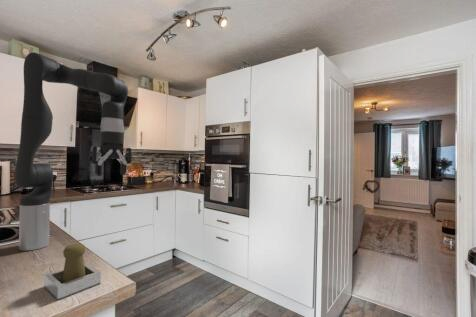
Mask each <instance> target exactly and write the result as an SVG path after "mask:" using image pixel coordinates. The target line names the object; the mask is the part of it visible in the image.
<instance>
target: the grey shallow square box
mask: <svg viewBox="0 0 476 317" xmlns="http://www.w3.org/2000/svg"><path fill="white" fill-rule="evenodd" d="M84 267H85V274H86V276H83V277H80V278H77V279H74V280H72V281H69V282H66V283H63V284H61V283H62V277H63V271H64V268H62V269H60V270H56V271H53V272H48V273H47V274H44V275H43V276H44V279H43V280H44V283H43V287H44V289H46V290H47V292H49V293H50V295H51V296H52V297H53V298H55V300H56V301H57V302H58V301H60V300H63V299H66V298H69V297H70V296H73V295H75V294H78V293H81V292H83V291H86V290H88V289H91V288H93V287H96V286H99V285H101V280H102V279H101V275H102V272H101V271H100V270H98V269H97V268H95V267H94V266H92V265H90V264H88V263H87V262H85V261H84Z"/></svg>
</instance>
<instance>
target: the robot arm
mask: <svg viewBox="0 0 476 317" xmlns="http://www.w3.org/2000/svg"><path fill="white" fill-rule="evenodd" d="M43 81H44V82H46V83H52V84H53V83H54V84H68V85H72V86H74V87H76V88H81V89H83V90H87V91H90V92H98V93H101V94H105V95H108V96H110V99H109V101H106V102H103V103H102V105H101V121H100V133H99V134H100V139H99V142H100V146H94V145H93V146H90V148H89V157H88V160H89V162H88V163H90V164H92V165H94V169H95V170H94V173H95V175H96V177H101V176H102V175H103V174H102V170H103V167H102V164H103V163H104V162H105V161H106V160H107V159H109V160H117V161H118V162H119V163H120V165H119V166H120V167H119V168H120V169H119V170H120V171H119V174H120V175H121V176H125V175H126V173H127V166H128V164H131V163H132V162H133V161H132V159H133V158H132V148H131V147H125V148H124V137H125V136H124V135H125V134H124V131H125V129H124V127H125V125H124V108H125V105H126V102H127V99H128V94H129V87H128V85H127V83H126V82H125V81H124V80H123V79H120V78H118V77H116V76H114V75H112V74H109V73H106V72H95V71H93V70H92V71H91V70H89V69H84V68H72V67H68V66H67V65H65V64H62V63H60V62H59V61H57V60H55V59H53V58H50V57H48V56H46V55H43V54H41V53H38V52H34V51H33V52H29V53H28V54H27V55H26V57H25V58H24V62H23V105H22V106H23V107H22V114H21V124H20V138H19V147H18V153H17V157H16V158H17V159H16V162H15V168H14V172H13V173H14V174H13V177H14V182H15V185H16V186H17V187H19V188H21V189H22V188H34V189H33V190H32V191H30V192H29V193H27V194H24V195H23V196H21V197H20V199H19V220H18V221H19V229H18V235H19V236H18V249H19V251H23V252H24V251H27V252H28V251H35V250H39V249H42V248H45V247H47V246H49V245H50V225H51V224H50V222H51V220H50V218H51V216H50V214H51V212H50V211H51V208H50V206H51V197H52V194H53V182H54V171H53V168H52V166H51V164H50V165H49V164H48V163H34V159H35V155H36V153H37V151H38V150H39V148H40V147H41V146H42V145H43V144H44V143H45V142H46V140H47V139H48V138H49V136H51V134H52V131H53V130H52V129H53V113H52V110H51V107H50V106H49V103H48V101H47V100H46V98H45V95H44V91H43ZM99 152H100V155H97V154H98V153H99ZM123 153H124V156H123ZM97 156H98V157H97Z"/></svg>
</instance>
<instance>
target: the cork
mask: <svg viewBox="0 0 476 317" xmlns="http://www.w3.org/2000/svg"><path fill="white" fill-rule="evenodd" d="M85 252H86V247H85V244H84V243H79V242H78V243H77V242H76V243H71V244H68V245H67V246H65V247H64V249H63V252H62V253H63V257H64V258H65V261H64V267H63V269H64V271H63V277H62V283H61V284H63V283H66V282H69V281H72V280H74V279H77V278H80V277H83V276H86V274H85V267H84V263H85V261H84V260H85V259H84V254H85Z"/></svg>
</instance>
